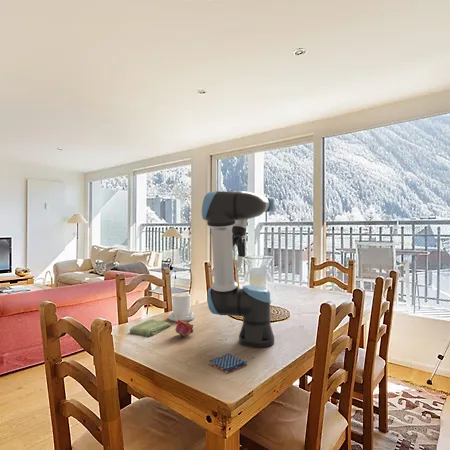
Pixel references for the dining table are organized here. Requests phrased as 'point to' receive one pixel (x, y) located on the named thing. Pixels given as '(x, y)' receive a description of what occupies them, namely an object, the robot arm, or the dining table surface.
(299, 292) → the dining table surface
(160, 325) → the washcloth
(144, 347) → the dining table surface
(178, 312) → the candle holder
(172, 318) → the grey round dish
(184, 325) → the flower
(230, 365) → the woven mat
